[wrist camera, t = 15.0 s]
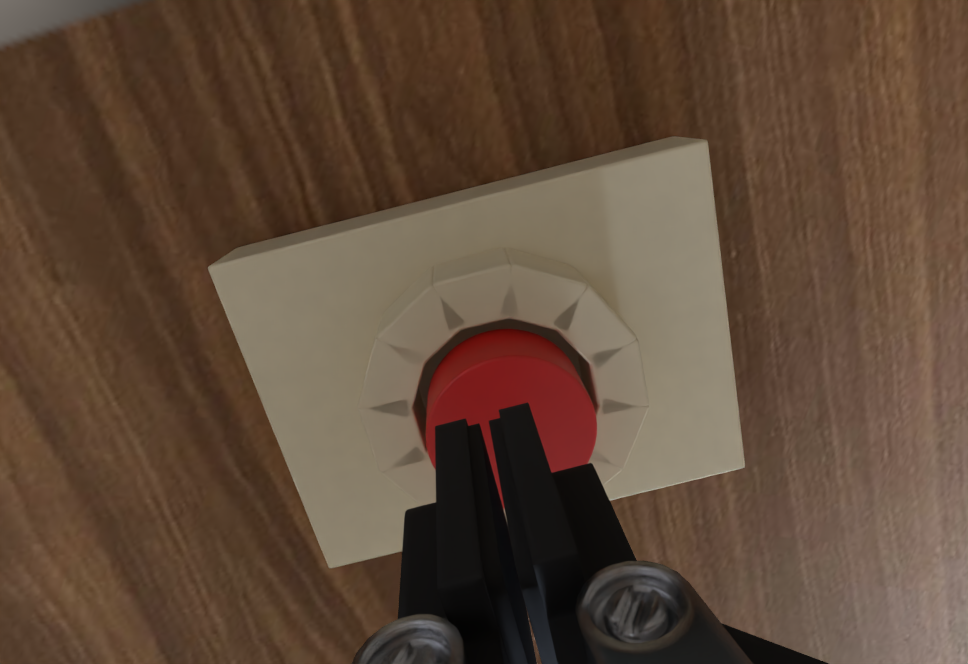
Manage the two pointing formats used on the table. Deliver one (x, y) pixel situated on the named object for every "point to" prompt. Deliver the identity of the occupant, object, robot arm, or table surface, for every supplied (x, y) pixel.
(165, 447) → the table surface
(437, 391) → the button
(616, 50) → the table surface
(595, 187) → the button block
